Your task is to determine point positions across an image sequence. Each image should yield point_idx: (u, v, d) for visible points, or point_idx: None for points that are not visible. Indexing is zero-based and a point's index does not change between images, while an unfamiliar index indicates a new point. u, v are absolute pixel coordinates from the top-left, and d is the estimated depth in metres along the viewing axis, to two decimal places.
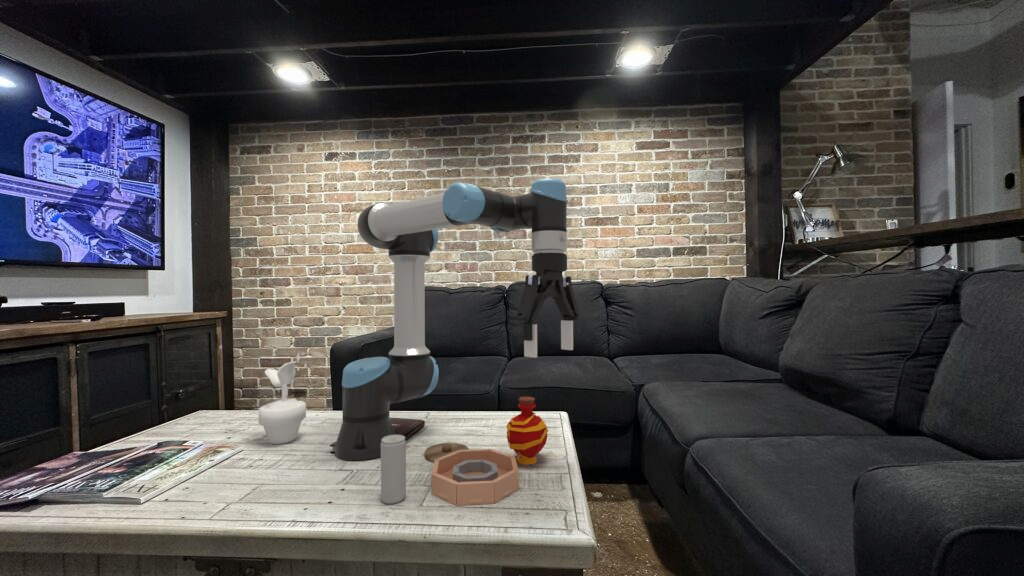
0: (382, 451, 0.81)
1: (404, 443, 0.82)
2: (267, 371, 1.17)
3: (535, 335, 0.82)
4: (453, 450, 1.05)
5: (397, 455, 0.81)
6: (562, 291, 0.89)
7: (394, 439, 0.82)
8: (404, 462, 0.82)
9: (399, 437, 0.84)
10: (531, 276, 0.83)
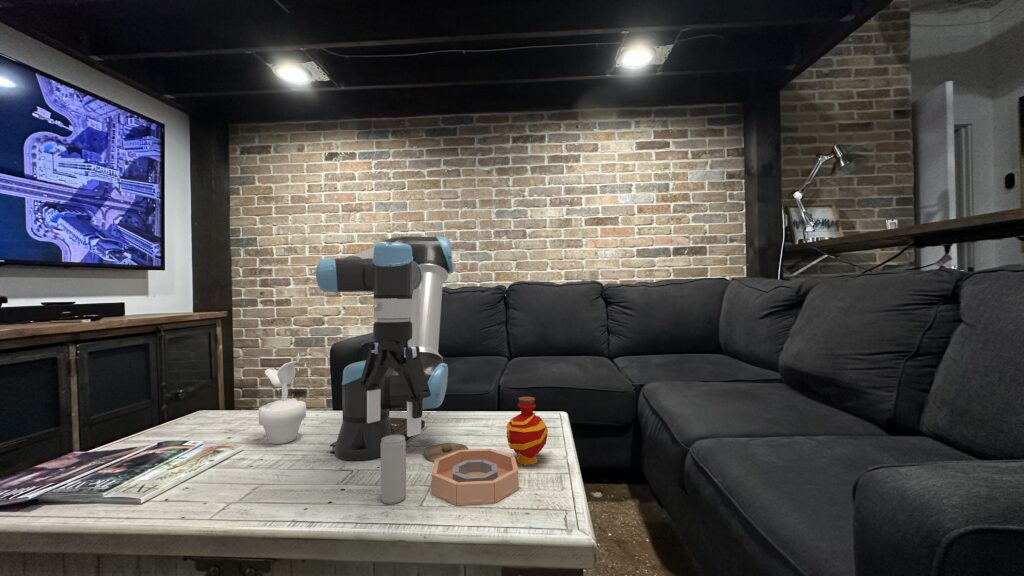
0: (382, 451, 0.81)
1: (404, 443, 0.82)
2: (267, 371, 1.17)
3: (367, 401, 0.86)
4: (453, 450, 1.05)
5: (396, 455, 0.81)
6: (393, 363, 0.80)
7: (394, 439, 0.82)
8: (403, 462, 0.82)
9: (399, 437, 0.84)
10: None
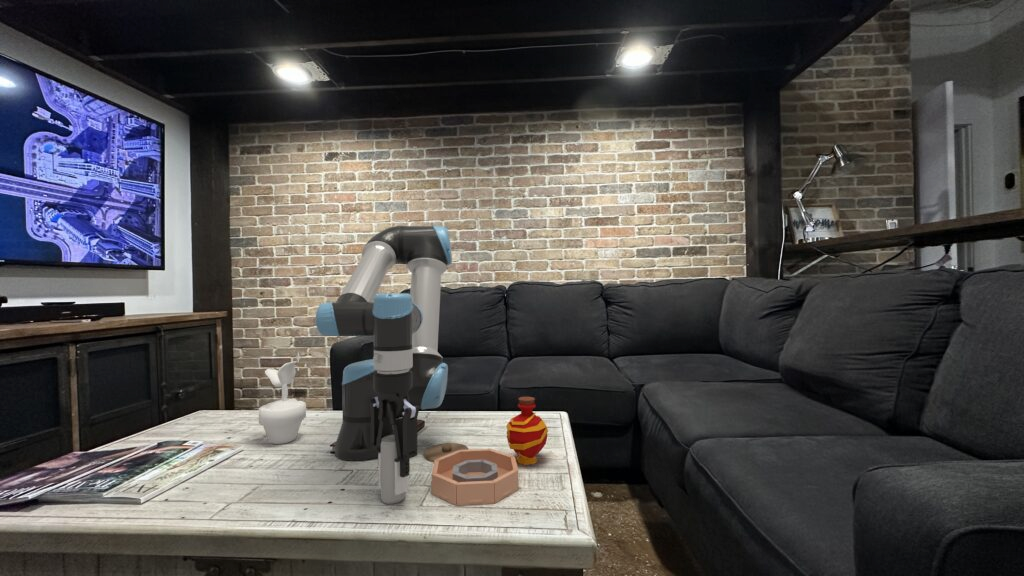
0: (382, 451, 0.81)
1: None
2: (267, 371, 1.17)
3: (378, 464, 0.84)
4: (453, 450, 1.05)
5: (396, 455, 0.81)
6: (390, 416, 0.81)
7: (394, 439, 0.82)
8: None
9: None
10: None
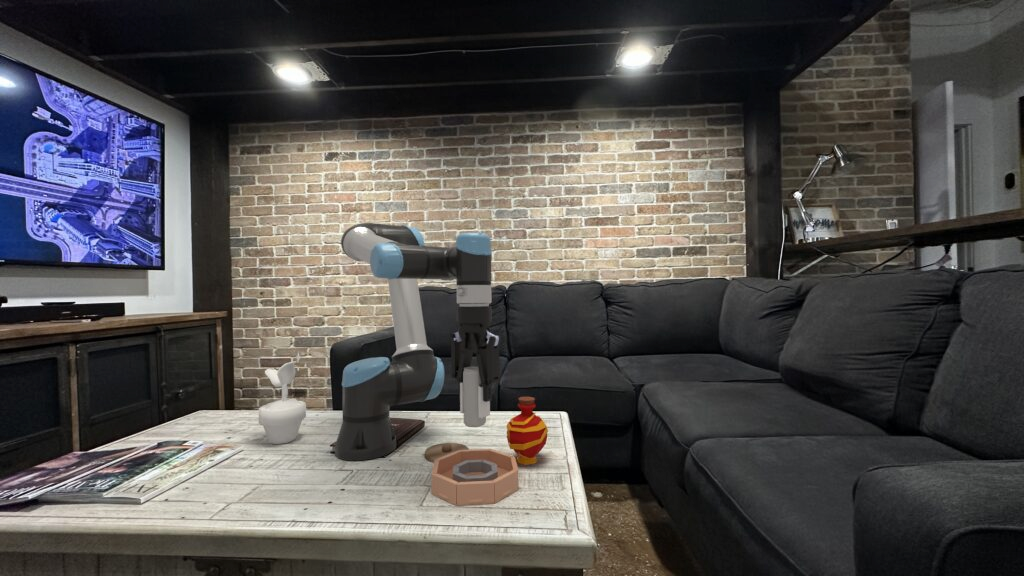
0: (465, 378, 0.87)
1: None
2: (267, 371, 1.17)
3: (460, 393, 0.90)
4: (453, 450, 1.05)
5: (479, 382, 0.87)
6: (473, 346, 0.87)
7: (475, 368, 0.89)
8: None
9: None
10: None
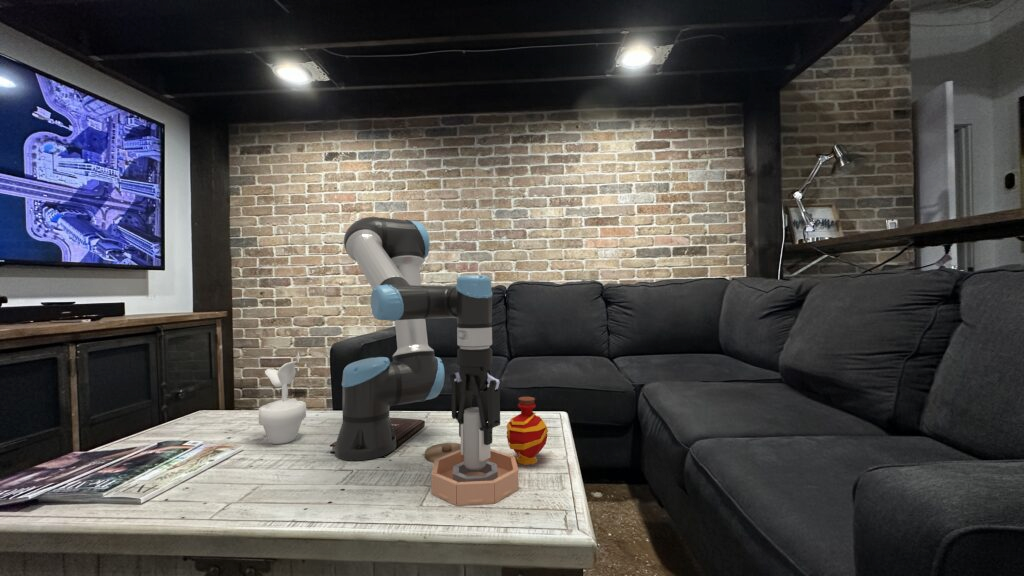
0: (466, 421, 0.87)
1: None
2: (267, 371, 1.17)
3: (460, 434, 0.90)
4: (453, 450, 1.05)
5: (480, 425, 0.87)
6: (474, 389, 0.87)
7: (476, 410, 0.89)
8: None
9: None
10: None
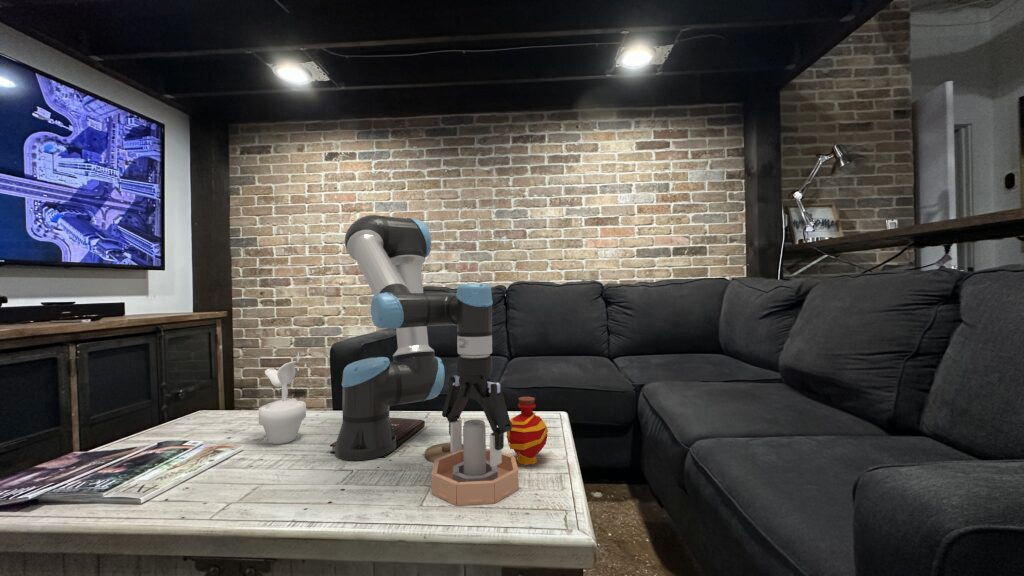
0: (466, 434, 0.87)
1: (485, 427, 0.89)
2: (267, 371, 1.17)
3: (450, 432, 0.92)
4: None
5: (479, 438, 0.87)
6: (476, 396, 0.87)
7: (475, 423, 0.89)
8: (485, 444, 0.88)
9: (479, 422, 0.90)
10: None
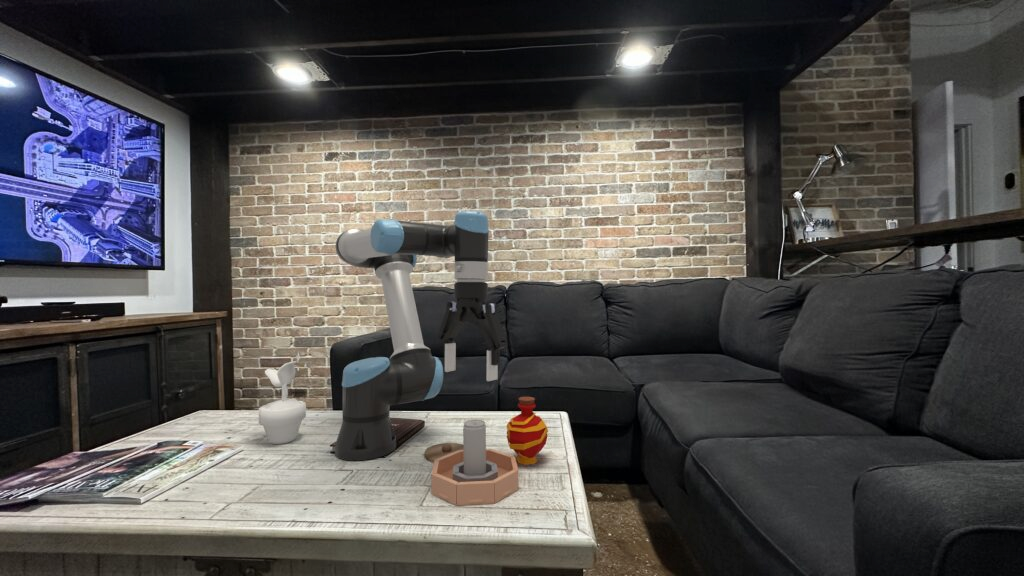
0: (466, 434, 0.87)
1: (485, 427, 0.89)
2: (267, 371, 1.17)
3: (445, 353, 0.97)
4: (453, 450, 1.05)
5: (479, 438, 0.87)
6: (472, 318, 0.91)
7: (475, 423, 0.89)
8: (485, 444, 0.89)
9: (479, 422, 0.90)
10: None
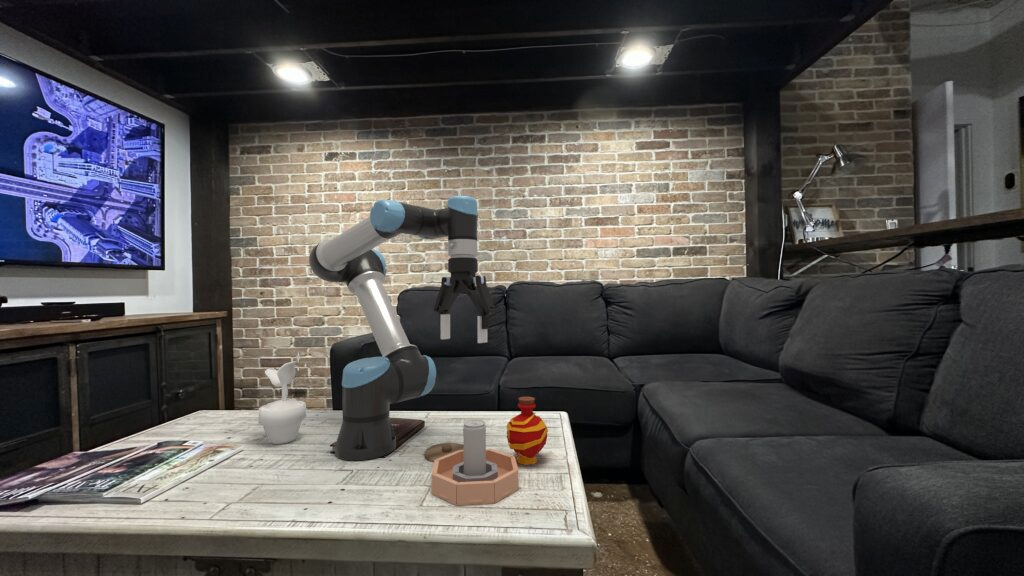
0: (466, 434, 0.87)
1: (485, 427, 0.89)
2: (267, 371, 1.17)
3: (440, 323, 1.10)
4: (453, 450, 1.05)
5: (479, 438, 0.87)
6: (464, 289, 1.03)
7: (475, 423, 0.89)
8: (485, 444, 0.88)
9: (479, 422, 0.90)
10: None
